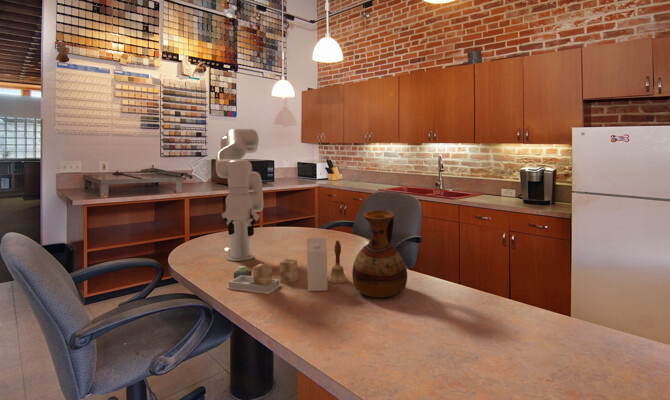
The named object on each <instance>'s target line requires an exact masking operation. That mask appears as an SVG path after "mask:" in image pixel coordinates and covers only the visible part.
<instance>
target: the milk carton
mask: <svg viewBox="0 0 670 400" xmlns="http://www.w3.org/2000/svg"><path fill="white" fill-rule="evenodd" d="M327 248H328V247H327V238H326V237H316V238H314V237H312V238H311V237H310V238H306V261H307V262H306V263H307V291H308V292H317V291H318V292H321V291H323V292H324V291H328V281H327V279H328V249H327Z"/></svg>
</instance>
